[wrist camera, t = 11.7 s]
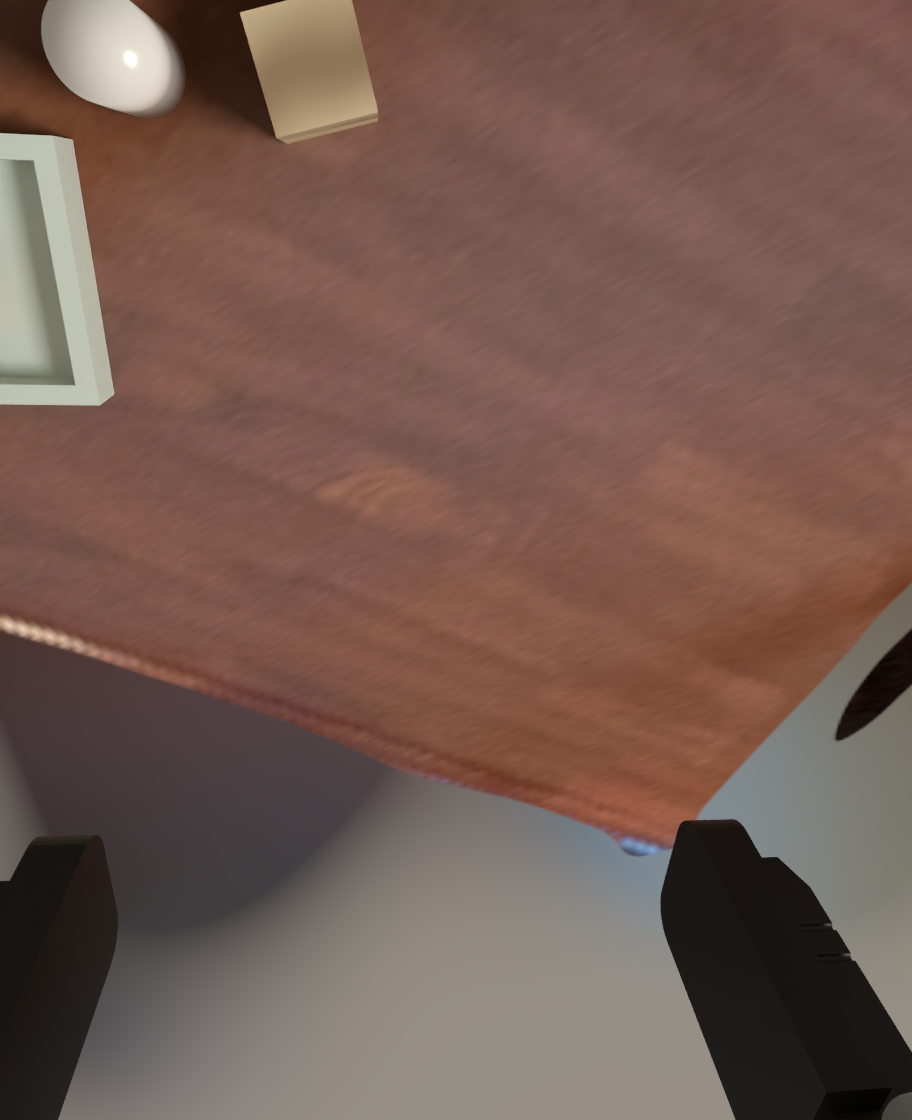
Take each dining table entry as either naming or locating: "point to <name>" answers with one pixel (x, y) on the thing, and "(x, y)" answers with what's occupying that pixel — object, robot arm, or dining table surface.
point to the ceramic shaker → (114, 56)
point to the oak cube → (310, 67)
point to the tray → (47, 280)
